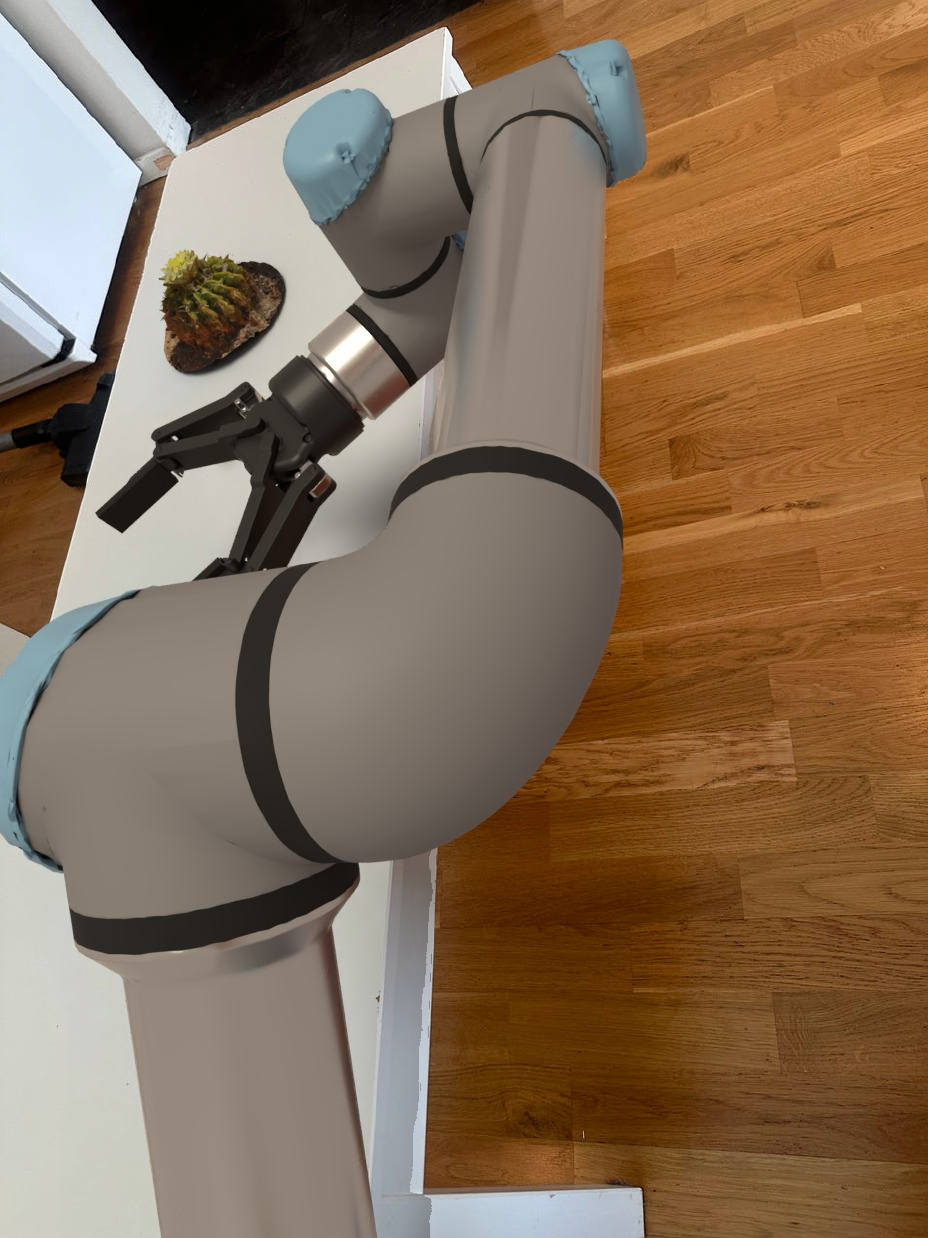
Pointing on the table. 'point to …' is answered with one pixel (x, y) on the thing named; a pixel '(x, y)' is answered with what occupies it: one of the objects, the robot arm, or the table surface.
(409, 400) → the table surface
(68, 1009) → the table surface
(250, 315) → the cactus
